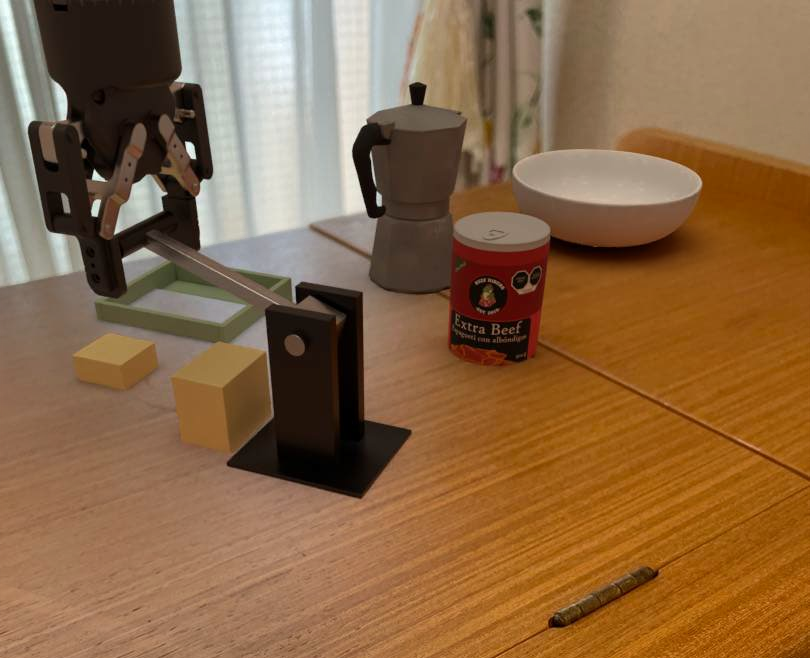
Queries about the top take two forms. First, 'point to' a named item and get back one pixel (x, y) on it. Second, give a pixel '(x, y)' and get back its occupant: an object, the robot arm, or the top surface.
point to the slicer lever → (208, 266)
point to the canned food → (497, 287)
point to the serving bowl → (605, 195)
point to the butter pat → (116, 361)
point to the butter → (222, 396)
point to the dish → (191, 284)
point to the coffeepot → (410, 191)
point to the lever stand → (319, 400)
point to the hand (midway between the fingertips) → (149, 272)
